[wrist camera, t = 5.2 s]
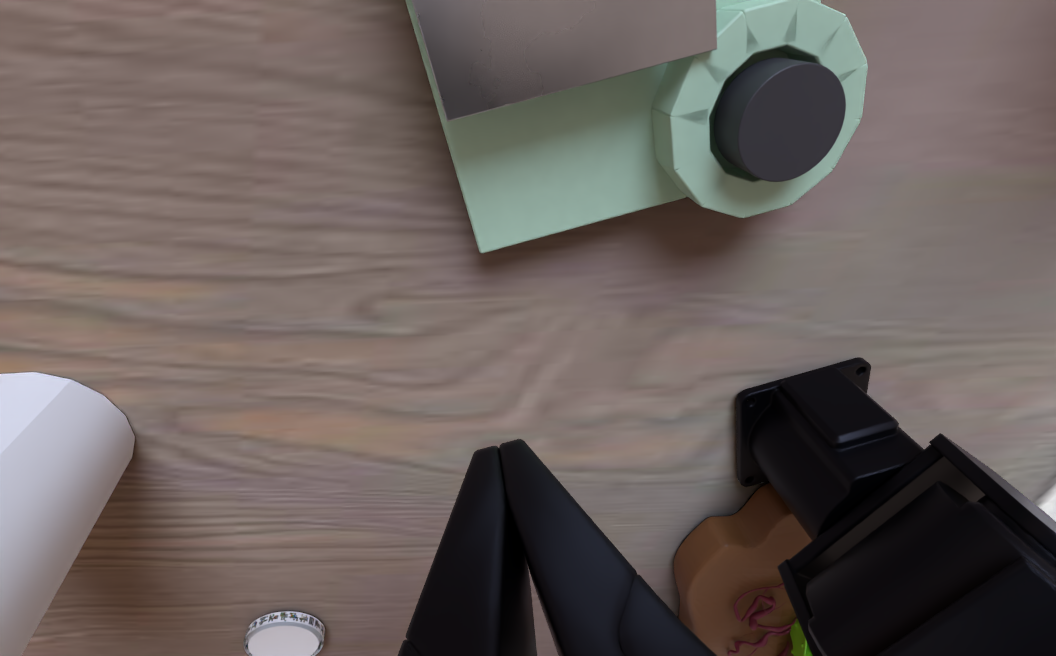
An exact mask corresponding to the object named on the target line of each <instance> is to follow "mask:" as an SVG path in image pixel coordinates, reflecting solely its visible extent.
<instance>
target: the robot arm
mask: <svg viewBox="0 0 1056 656" xmlns="http://www.w3.org/2000/svg"><path fill="white" fill-rule="evenodd" d="M870 370H871V365H870V364H869V363H868V362H867V361H866V360H864V359H863V358H854V359H851V360H847V361H844V362H840V363H837V364H833V365H830V366H826V367H823V368H819V369H816V370H812V371H809V372H805V373H802V374H798V375H794V376H791V377H787V378H784V379H780V380H777V381H773V382H770V383H766V384H763V385H759V386H756V387H752V388H749V389H746V390H743V391H742V392H740V393H739V394H738V396H737V399H736V425H737V478H738V480H739V482H740V483H741V485H743V486H745V487H748V486H752V485H756V484H759V483H763V482H766V481H769V482H770V483H771V484H772V486H773V487H774V489H775V490H776V491H777V493H778V494H779V495H780V497H781V498H782V500H783V501H784V502H785V504H786V505H787V507H788V508H789V509H790V511H791V512H792V514H793V515H794V516H795V518H796V519H797V521H798V522H799V523H800V525H801V526H802V528H803V529H804V530H805V532H806V533H807V534H808V536H809V537H810V539H811V540H812V542H810V543H809V544H808V545H807V546H805V547H804V548H803V549H802V550H801V551H799V552H798V553H797V554H796V555H794V556H793V557H792V558H791V559H786V560H784V561H783V562H782V563H781V564H780V565H778V566H777V568H778V571H779V573H780V576H781V578H782V580H783V583H784V587H785V590H786V592H787V595H788V597H789V599H790V602H791V604H792V607H793V609H794V612H795V614H796V616H797V619H798V621H799V624H800V626H801V629H802V631H803V633H804V636H805V638H806V641H807V643H808V645H809V648H810V650H811V653H812V655H813V656H1056V522H1055V521H1054V520H1053V519H1052V518H1051V517H1050V516H1049V515H1047V514H1046V513H1045V512H1044V511H1043V510H1041V509H1040V508H1039V507H1038V506H1037V505H1035V504H1034V503H1033V502H1032V501H1030V500H1029V499H1028V498H1027V497H1025V496H1024V495H1023V494H1022V493H1020V492H1019V491H1018V490H1017V489H1015V488H1014V487H1013V486H1012V485H1011V484H1009V483H1008V482H1007V481H1006V480H1004V479H1003V478H1002V477H1001V476H999V475H998V474H997V473H996V472H994V471H993V470H992V469H990V468H989V467H988V466H986V465H985V464H983V463H982V462H981V461H979V460H978V459H976V458H975V457H973V456H972V455H971V454H969V453H968V452H966V451H965V450H964V449H962V448H961V447H959V446H958V445H957V444H955V443H954V442H952V441H951V440H950V439H948V438H947V437H945V436H944V435H943V434H941V433H940V434H939V435H937V436H936V437H935V438H934V439H933V440H931V441H930V442H929V443H930V444H931V445H929V446H928V447H927V448H926V449H925V450H924V449H923V448H922V447H921V446H920V445H918V444H917V443H916V442H915V441H914V440H913V439H912V438H911V437H910V436H908V435H907V434H906V433H905V432H904V431H903V430H902V429H901V428H899V427H898V425H899V423H898V422H897V420H895V419H894V418H893V417H892V416H891V415H890V414H889V413H888V412H886V411H885V410H884V409H883V408H882V407H881V406H880V405H879V404H877V403H876V402H875V401H874V400H873V399H872V398H871V397H870V396H868V395H867V389H868V382H869V376H870ZM748 399H749V400H748ZM747 400H748V401H747ZM527 564H528V565H527ZM528 567H529V570H530V574H531V577H532V580H533V583H534V586H535V589H536V592H537V595H538V597H539V600H540V603H541V606H542V609H543V612H544V615H545V618H546V620H547V623H548V626H549V629H550V632H551V635H552V638H553V640H554V643H555V646H556V649H557V652H558V655H559V656H717V655H716V654H715V653H714V652H713V651H712V650H710V649H709V648H708V647H707V646H706V645H705V644H704V643H703V642H702V641H701V640H700V639H699V638H698V637H697V636H696V635H695V634H694V633H693V632H692V631H691V630H690V629H689V628H688V627H687V626H686V625H685V624H684V623H683V622H682V621H680V619H679V618H678V617H677V616H676V615H675V614H674V613H673V612H672V611H671V610H670V609H669V607H668V606H667V605H666V604H665V603H664V602H663V601H662V600H661V599H660V598H659V597H658V596H657V594H656V593H655V592H654V591H653V590H652V589H651V588H650V586H649V585H648V584H647V583H646V582H645V581H644V579H643V578H642V577H641V576H640V575H637V573H636V571H635V569H634V568H633V567H632V566H631V565H630V564H629V562H628V561H627V560H626V559H625V558H624V557H623V555H622V554H621V553H620V552H619V551H618V550H617V548H616V547H615V546H614V545H613V544H612V543H611V541H610V540H609V539H608V538H607V537H606V536H605V535H604V533H603V532H602V531H601V530H600V529H599V528H598V526H597V525H596V524H595V523H594V522H593V521H592V519H591V518H590V517H589V516H588V515H587V514H586V512H585V511H584V510H583V509H582V508H581V507H580V505H579V504H578V503H577V502H576V501H575V500H574V498H573V497H572V496H571V495H570V494H569V493H568V492H567V490H566V489H565V488H564V487H563V486H562V485H561V483H560V482H559V481H558V480H557V479H556V478H555V476H554V475H553V474H552V473H551V472H550V471H549V469H548V468H547V467H546V466H545V465H544V464H543V462H542V461H541V460H540V459H539V458H538V457H537V456H536V454H535V453H534V452H533V451H532V450H531V449H530V447H529V446H528V445H527V444H526V443H525V442H524V441H523V440H521V439H517V440H513V441H510V442H506V443H502V444H501V445H500V447H499V448H498V447H497V446H491V447H487V448H483V449H480V450H477V451H475V452H474V454H473V457H472V459H471V462H470V465H469V467H468V470H467V473H466V475H465V478H464V481H463V483H462V486H461V489H460V491H459V494H458V497H457V499H456V502H455V505H454V507H453V510H452V513H451V515H450V518H449V521H448V523H447V526H446V529H445V531H444V534H443V537H442V539H441V542H440V545H439V547H438V550H437V553H436V555H435V558H434V561H433V563H432V566H431V569H430V571H429V574H428V577H427V579H426V582H425V585H424V587H423V590H422V593H421V595H420V598H419V601H418V603H417V606H416V609H415V612H414V614H413V617H412V620H411V622H410V625H409V628H408V630H407V633H406V638H407V640H404V641H403V643H402V646H401V648H400V651H399V654H398V656H537V650H536V639H535V629H534V618H533V607H532V597H531V586H530V578H529V571H528Z"/></svg>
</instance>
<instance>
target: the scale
mask: <svg viewBox="0 0 1056 656" xmlns="http://www.w3.org/2000/svg"><path fill="white" fill-rule="evenodd" d="M405 1H406V4H407V8H408V11H409V15H410V18H411V21H412V25H413V28H414V32H415V35H416V38H417V42H418V45H419V49H420V52H421V55H422V59H423V62H424V66H425V69H426V72H427V76H428V79H429V83H430V86H431V89H432V93H433V96H434V99H435V103H436V106H437V110H438V113H439V116H440V120H441V123H442V127H443V130H444V133H445V137H446V140H447V144H448V147H449V150H450V154H451V157H452V161H453V164H454V167H455V171H456V174H457V178H458V181H459V184H460V188H461V191H462V195H463V198H464V201H465V205H466V208H467V211H468V215H469V218H470V222H471V225H472V228H473V232H474V235H475V239H476V242H477V245H478V249H479V252H480V253H486V252H490V251H493V250H497V249H501V248H504V247H508V246H512V245H515V244H519V243H522V242H526V241H530V240H533V239H537V238H541V237H544V236H548V235H552V234H555V233H559V232H562V231H566V230H570V229H573V228H577V227H581V226H584V225H588V224H592V223H595V222H599V221H602V220H606V219H610V218H613V217H617V216H621V215H624V214H628V213H632V212H635V211H639V210H642V209H646V208H650V207H653V206H657V205H661V204H664V203H668V202H672V201H675V200H679V199H682V198H686V197H689V198H690V199H692V200H693V201H694V202H696V203H697V204H698V205H700V206H701V207H703V208H706V209H710V210H713V211H717V212H721V213H724V214H728V215H731V216H735V217H738V218H747V217H751V216H754V215H758V214H761V213H765V212H769V211H772V210H776V209H780V208H783V207H787V206H789V205H792V204H793V203H794V202H796V201H797V200H798V199H799V198H800V197H802V196H803V195H804V194H805V193H806V192H808V191H809V190H810V189H811V188H813V187H814V186H815V185H816V184H817V183H819V182H820V181H821V180H822V179H823V178H825V177H826V176H827V175H828V174H830V173H831V172H832V169H834V167H835V166H836V164H837V162H838V160H839V159H840V157H841V155H842V153H843V151H844V150H845V148H846V146H847V144H848V143H849V141H850V139H851V137H852V136H853V134H854V132H855V130H856V128H857V127H858V125H859V123H860V119H861V118H862V112H863V103H864V94H865V85H866V77H867V68H868V65H867V60H866V57H865V55H864V53H863V51H862V49H861V47H860V44H859V42H858V40H857V38H856V36H855V33H854V31H853V29H852V27H851V25H850V23H849V20H848V18H846V15H845V14H843V13H841V12H839V11H836V10H834V9H832V8H830V7H827V6H825V5H823V4H821V0H716V20H717V49H716V50H713V51H709V52H705V53H702V54H698V55H694V56H690V57H687V58H683V59H679V60H676V61H672V62H668V63H664V64H661V65H657V66H653V67H650V68H646V69H642V70H638V71H635V72H631V73H627V74H624V75H620V76H616V77H612V78H609V79H605V80H601V81H597V82H594V83H590V84H586V85H583V86H579V87H575V88H571V89H568V90H564V91H560V92H557V93H553V94H549V95H545V96H542V97H538V98H534V99H530V100H527V101H523V102H519V103H516V104H512V105H508V106H504V107H501V108H497V109H493V110H490V111H486V112H482V113H478V114H475V115H471V116H467V117H463V118H460V119H456V120H452V121H449V122H447V121H446V117H445V114H444V110H443V107H442V104H441V100H440V97H439V93H438V90H437V86H436V83H435V79H434V76H433V72H432V69H431V66H430V62H429V59H428V55H427V52H426V48H425V45H424V41H423V38H422V34H421V31H420V27H419V24H418V21H417V17H416V14H415V10H414V7H413V3H412V0H405ZM768 58H787V59H793V60H799V61H805V62H811V63H817V64H820V65H823V66H825V67H827V68H828V69H830V70H831V71H832V72H833V73H834V74H835V75H836V76H837V77H838V79H839V81H840V82H841V84H842V87H843V89H844V93H845V99H846V112H845V118H844V122H843V126H842V129H841V131H840V134H839V136H838V138H837V140H836V142H835V144H834V145H833V147H832V148H831V150H830V151H829V152H828V154H827V155H826V156H825V157H824V158H823V159H822V160H821V161H820V162H819V163H818V164H817V165H816V166H815V167H814V168H812V169H811V170H810V171H808V172H806V173H805V174H803V175H801V176H799V177H797V178H794V179H791V180H787V181H782V182H769V181H764V180H762V179H759V178H757V177H755V176H753V175H751V174H749V173H747V172H746V171H744V170H742V169H740V168H738V167H736V166H734V165H733V164H731V163H729V162H728V161H727V160H726V159H725V158H724V157H723V156H722V154H721V153H720V151H719V149H718V147H717V144H716V141H715V137H714V119H715V113H716V109H717V106H718V104H719V101H720V99H721V97H722V95H723V93H724V91H725V90H726V88H727V87H728V85H729V84H730V83H731V82H732V80H733V79H734V78H735V77H736V76H737V75H738V74H739V73H741V72H742V71H743V70H744V69H746V68H747V67H749V66H750V65H752V64H754V63H756V62H758V61H761V60H764V59H768Z"/></svg>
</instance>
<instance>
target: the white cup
mask: <svg viewBox="0 0 1056 656" xmlns="http://www.w3.org/2000/svg"><path fill="white" fill-rule="evenodd" d="M134 442H135V436H134V434H133V431H132V429H131V427H130V425H129V422H128V420H127V418H126V416H125V415H124V414H123V413H122V412H121V411H120V410H119V409H118V408H117V407H116V406H115V405H113V404H112V403H111V402H110V401H109V400H108V399H107V398H106V397H105V396H104V395H102V394H100V393H98V392H96V391H94V390H92V389H90V388H88V387H86V386H84V385H81V384H79V383H77V382H75V381H73V380H71V379H66V378H61V377H56V376H52V375H47V374H42V373H37V372H27V373H10V374H0V656H22V654H23V652H24V650H25V648H26V647H27V645H28V643H29V641H30V639H31V638H32V636H33V634H34V632H35V630H36V629H37V627H38V625H39V623H40V621H41V620H42V618H43V616H44V614H45V612H46V611H47V609H48V607H49V605H50V604H51V602H52V600H53V598H54V596H55V595H56V593H57V591H58V589H59V587H60V586H61V584H62V582H63V580H64V578H65V577H66V575H67V573H68V571H69V569H70V568H71V566H72V564H73V562H74V560H75V559H76V557H77V555H78V553H79V551H80V550H81V548H82V546H83V544H84V543H85V541H86V539H87V537H88V535H89V534H90V532H91V530H92V528H93V526H94V525H95V523H96V521H97V519H98V517H99V516H100V514H101V512H102V510H103V508H104V507H105V505H106V503H107V501H108V499H109V498H110V496H111V494H112V492H113V490H114V489H115V487H116V485H117V483H118V482H119V480H120V478H121V476H122V474H123V473H124V471H125V469H126V467H127V465H128V464H129V462H130V460H131V458H132V455H133V449H134Z"/></svg>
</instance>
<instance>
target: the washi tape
mask: <svg viewBox="0 0 1056 656" xmlns="http://www.w3.org/2000/svg"><path fill="white" fill-rule="evenodd" d="M324 636H325V628H324V626H323V624H322V623H321V622H320V621H319V620H318V619H317V618H315V617H313V616H311V615H308V614H305V613H301V612H293V611H283V612H275V613H271V614H267V615H265V616H262V617H260V618H258V619H256V620H255V621H254V622H252V623H251V624H250V626H249V627H248V629H247V632H246V635H245V639H244V643H243V647H244V650H245V652H246V653H247V654H248V655H249V656H315V655H316V654H317V653H318V652H319V651H320V650H321V649H322V646H323V643H324Z"/></svg>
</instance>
